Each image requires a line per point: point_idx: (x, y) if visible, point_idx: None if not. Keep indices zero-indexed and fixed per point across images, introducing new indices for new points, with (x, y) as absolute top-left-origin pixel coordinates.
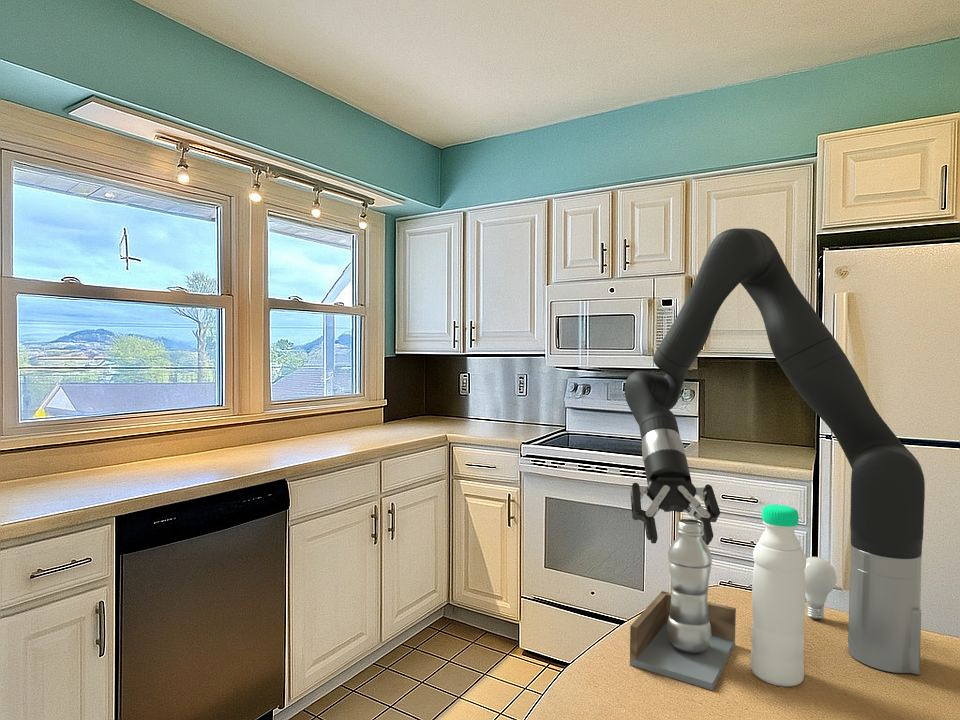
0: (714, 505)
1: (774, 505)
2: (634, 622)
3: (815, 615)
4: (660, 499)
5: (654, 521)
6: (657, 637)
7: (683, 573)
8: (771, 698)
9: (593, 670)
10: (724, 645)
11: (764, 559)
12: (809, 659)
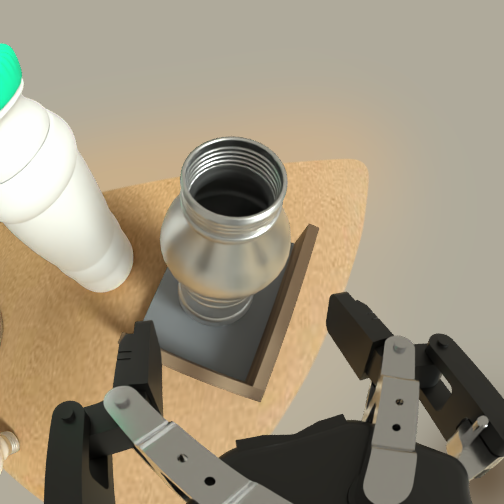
0: (64, 448)
1: None
2: (313, 240)
3: (9, 433)
4: (390, 406)
5: (365, 330)
6: (262, 323)
7: (244, 208)
8: (131, 207)
9: (340, 230)
10: (155, 318)
11: (68, 125)
12: (48, 315)
